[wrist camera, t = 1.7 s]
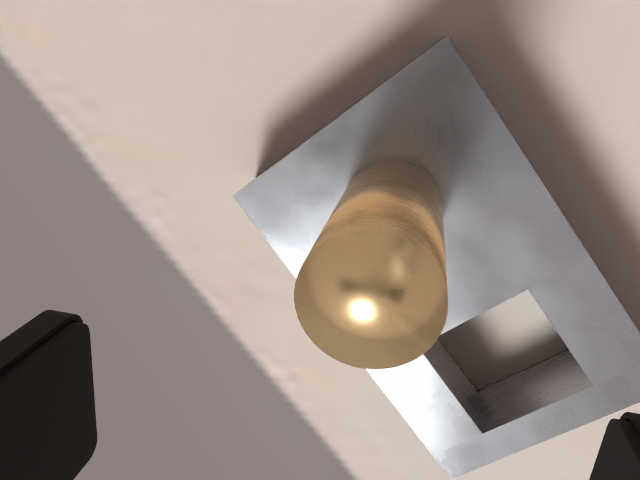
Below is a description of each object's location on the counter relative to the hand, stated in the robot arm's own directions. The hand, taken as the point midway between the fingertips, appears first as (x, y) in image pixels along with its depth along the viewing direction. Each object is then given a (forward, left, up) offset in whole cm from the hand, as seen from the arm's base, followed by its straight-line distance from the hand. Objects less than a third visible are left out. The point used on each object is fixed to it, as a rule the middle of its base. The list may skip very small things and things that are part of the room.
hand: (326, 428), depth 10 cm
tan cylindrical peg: (0, 0, -12) cm, 12 cm away
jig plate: (+3, +3, -15) cm, 16 cm away
